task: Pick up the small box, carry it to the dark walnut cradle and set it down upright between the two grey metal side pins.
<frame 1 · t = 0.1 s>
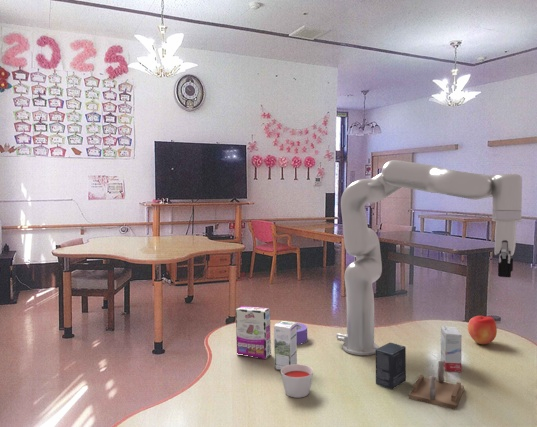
hand: (505, 273, 132), 31 cm above the table, fingers open, 9 cm apart
apple: (481, 343, 162), on the table
syrup box: (285, 368, 143), on the table
ink box: (450, 366, 142), on the table
box: (390, 383, 131), on the table
candy bar box: (253, 355, 154), on the table
candle: (297, 393, 126), on the table
tape roll: (291, 340, 169), on the table
cradle: (436, 393, 124), on the table
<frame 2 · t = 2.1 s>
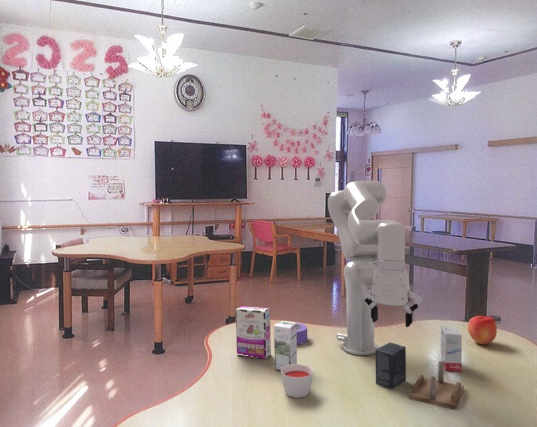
hand: (391, 323, 130), 18 cm above the table, fingers open, 9 cm apart
nothing on the table moved.
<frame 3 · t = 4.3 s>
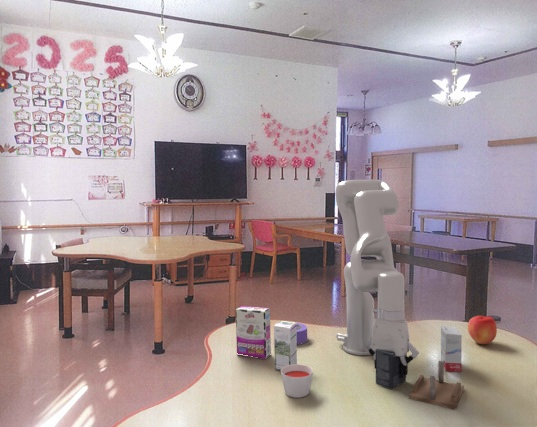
hand: (390, 373, 131), 3 cm above the table, fingers closed on box, 6 cm apart
box: (390, 383, 131), on the table, touching gripper
everything else where it was.
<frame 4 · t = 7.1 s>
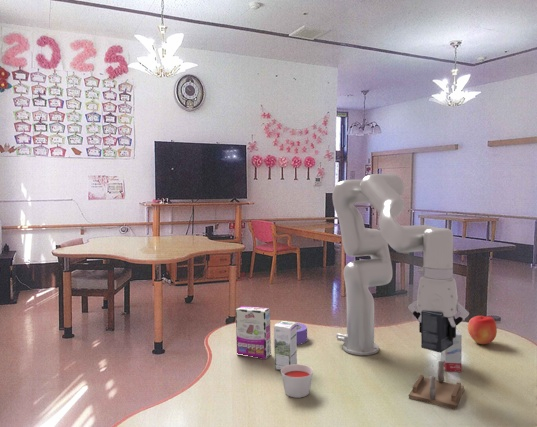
hand: (437, 337, 123), 16 cm above the table, fingers closed on box, 6 cm apart
box: (437, 347, 123), point 13 cm above the table, touching gripper
everything else where it was.
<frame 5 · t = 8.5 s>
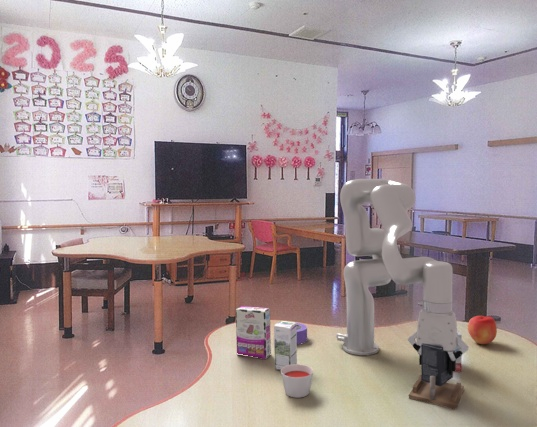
hand: (437, 369, 123), 7 cm above the table, fingers closed on box, 6 cm apart
box: (437, 380, 124), point 4 cm above the table, touching gripper
everything else where it was.
when the fingers open (5 cm above the table, at t = 9.8 s): box drops 1 cm, resting on cradle.
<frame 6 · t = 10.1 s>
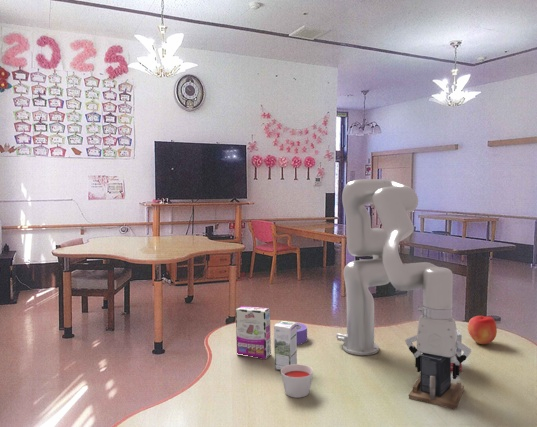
hand: (437, 373, 124), 6 cm above the table, fingers open, 9 cm apart
box: (435, 390, 124), point 1 cm above the table, touching cradle
everything else where it was.
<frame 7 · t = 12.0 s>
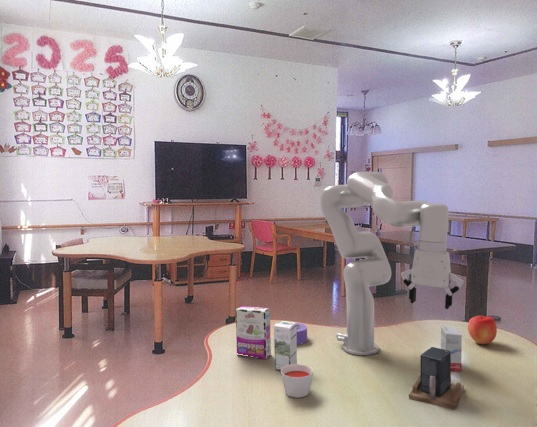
hand: (429, 304, 129), 23 cm above the table, fingers open, 9 cm apart
nothing on the table moved.
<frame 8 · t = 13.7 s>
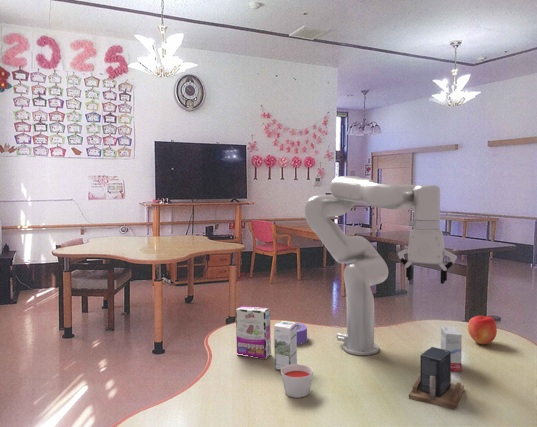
hand: (426, 281, 137), 28 cm above the table, fingers open, 9 cm apart
nothing on the table moved.
at the end: box 0.4 cm off-centre on the cradle, point 0.8 cm above the cradle's base; box tilted 0°; the gripper is holding nothing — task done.
